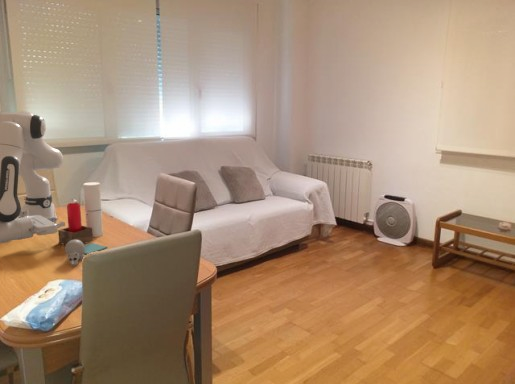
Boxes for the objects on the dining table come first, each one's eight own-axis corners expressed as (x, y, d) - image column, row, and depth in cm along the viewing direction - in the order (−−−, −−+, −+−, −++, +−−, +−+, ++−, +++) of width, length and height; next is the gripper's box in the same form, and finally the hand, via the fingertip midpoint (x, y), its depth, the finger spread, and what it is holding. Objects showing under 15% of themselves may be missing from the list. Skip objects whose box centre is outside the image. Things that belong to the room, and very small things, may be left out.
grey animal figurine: (63, 273, 157) (60, 257, 152) (68, 252, 166) (65, 236, 162) (83, 271, 158) (80, 255, 154) (87, 250, 168) (84, 235, 163)
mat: (72, 250, 173) (72, 249, 173) (91, 244, 182) (91, 242, 182) (88, 255, 169) (88, 253, 168) (107, 248, 177) (107, 246, 177)
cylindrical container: (97, 237, 191) (94, 185, 186) (83, 236, 192) (80, 184, 187) (105, 232, 198) (102, 182, 192) (92, 231, 199) (89, 181, 194)
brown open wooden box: (59, 242, 182) (58, 230, 181) (78, 236, 191) (77, 224, 190) (74, 246, 178) (73, 233, 177) (92, 240, 187) (92, 227, 185)
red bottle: (84, 239, 187) (81, 197, 183) (79, 243, 182) (76, 200, 178) (72, 239, 187) (69, 197, 183) (67, 243, 182) (64, 200, 178)
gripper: (33, 225, 160) (69, 219, 170) (17, 215, 174) (50, 210, 184) (35, 241, 162) (70, 233, 172) (18, 229, 176) (52, 223, 185)
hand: (60, 221), depth 178 cm, fingers open, 8 cm apart
